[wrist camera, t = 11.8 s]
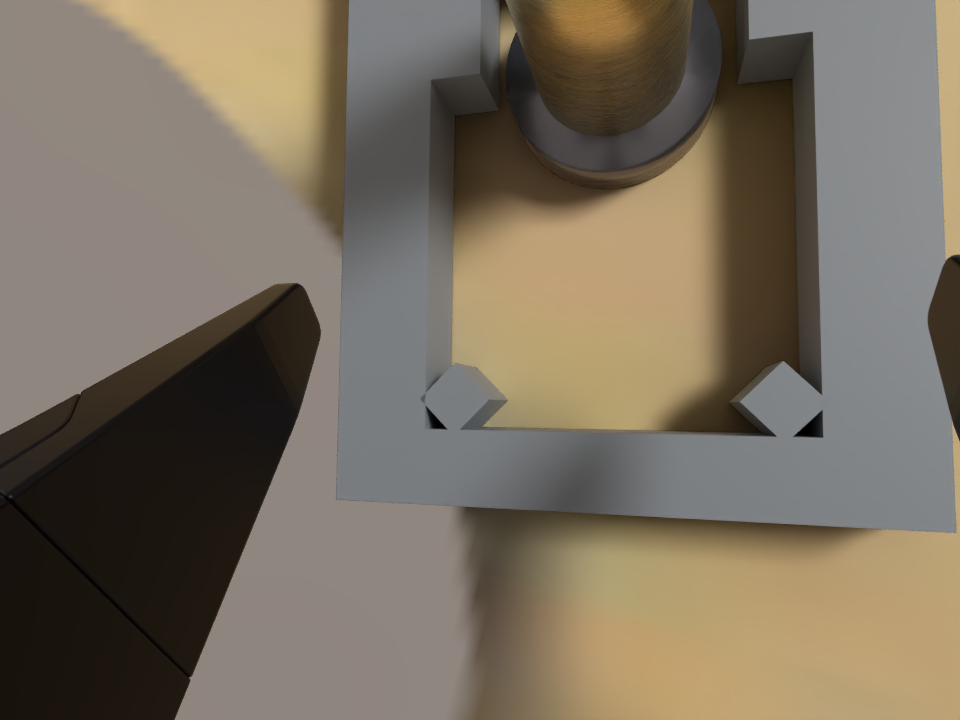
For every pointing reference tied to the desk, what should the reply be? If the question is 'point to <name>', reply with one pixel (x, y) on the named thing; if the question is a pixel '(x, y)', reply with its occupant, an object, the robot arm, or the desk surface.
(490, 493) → the square frame
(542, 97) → the brass peg
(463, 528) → the desk surface
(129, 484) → the robot arm
